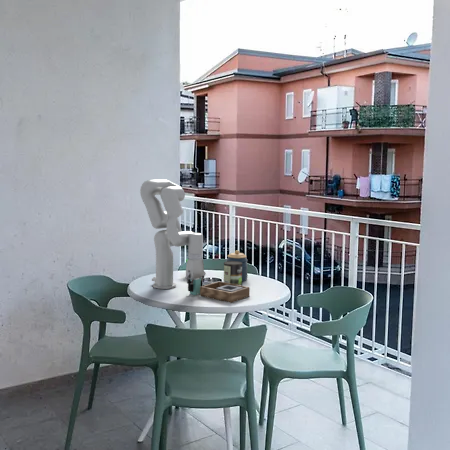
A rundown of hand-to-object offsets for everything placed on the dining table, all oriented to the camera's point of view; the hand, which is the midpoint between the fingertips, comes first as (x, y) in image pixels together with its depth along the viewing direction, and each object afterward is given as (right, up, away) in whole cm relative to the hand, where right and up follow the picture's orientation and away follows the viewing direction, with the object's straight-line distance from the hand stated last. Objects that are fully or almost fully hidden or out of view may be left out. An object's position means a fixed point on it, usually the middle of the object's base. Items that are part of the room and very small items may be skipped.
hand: (195, 289), depth 270 cm
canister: (+23, +2, +36) cm, 42 cm away
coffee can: (+20, -1, +15) cm, 25 cm away
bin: (+16, -3, -4) cm, 16 cm away
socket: (+18, -2, -6) cm, 19 cm away
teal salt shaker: (0, -2, 0) cm, 2 cm away
